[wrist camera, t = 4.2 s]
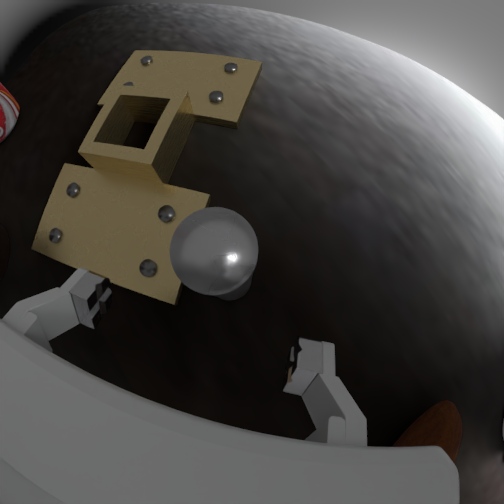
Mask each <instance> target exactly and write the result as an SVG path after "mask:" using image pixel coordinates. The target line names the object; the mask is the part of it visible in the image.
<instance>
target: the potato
mask: <svg viewBox="0 0 504 504" xmlns="http://www.w3.org/2000/svg"><path fill="white" fill-rule="evenodd" d="M462 434H463V426H462V420H461V416H460V414H459V412H458V410H457V408H456V406H455V404H454V403H452V402H451V401H448V400H443V401H441V402H439V403H438V404H436V405H434V406H432V407H430V408H429V409H428V410H427V411H426V412H425V413H423V414H422V415H421V416H420V417H419V418H418V419H416V420H415V421H414V422H413V423H412V424H411V425H410V426H409V427H408V428H407V429H406V430H405V431H404V433H403V434H402V435H401V436H400V437H399V439H398V440H397V441H396V442H395V443H394V445H393V446H392V447H414V446H439V447H441V448H442V449H443V450H444V451H445V452H446V454H447V455H448V456H449V457H450V459H451V460H452V461H453V463H454V464H455V460H456V457H457V453H458V450H459V447H460V444H461V439H462Z"/></svg>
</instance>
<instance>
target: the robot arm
mask: <svg viewBox="0 0 504 504" xmlns="http://www.w3.org/2000/svg"><path fill="white" fill-rule="evenodd" d="M110 285H111V283H110V279H109V278H107V277H105V276H103V275H100V274H98V273H95V272H93V271H91V270H88V269H86V268H83V267H80V268H78V269H77V270H76V271H75V272H74V273H73V274H72V275H71V277H70V278H69V279H68V280H67V281H66V282H65V283H64V284H63V285H62V286H61V287H60V288H58V287H56V288H54V289H51V290H48V291H46V292H43V293H40V294H38V295H35V296H32V297H30V298H27V299H24V300H22V301H19V302H17V303H16V304H15V305H14V306H13V307H12V308H11V309H10V311H9V312H8V313H7V314H6V315H5V316H4V317H3V319H0V504H459V475H458V470H457V467H456V466H455V464H454V463H453V461H452V460H451V459H450V457H449V456H448V455H447V454H446V452H445V451H444V450H443V449H442V448H441V447H439V446H414V447H373V446H367V420H366V418H365V416H364V415H363V413H362V412H361V410H360V409H359V407H358V406H357V404H356V403H355V401H354V400H353V398H352V397H351V395H350V394H349V392H348V390H347V389H346V387H345V386H344V384H343V383H342V381H341V380H340V378H339V377H336V376H335V345H334V344H333V343H329V342H324V341H320V340H315V339H311V338H306V337H302V336H298V337H297V338H296V340H295V344H294V347H292V348H291V350H290V352H289V354H288V357H287V361H286V367H285V369H286V371H287V373H286V375H285V377H284V382H283V390H282V391H284V392H288V393H292V394H297V395H301V396H302V399H303V401H304V403H305V405H306V407H307V410H308V412H309V414H310V416H311V418H312V421H313V423H314V425H315V427H316V429H317V430H315V431H314V432H313V433H312V434H311V435H310V436H308V437H307V438H306V439H305V440H298V439H291V438H285V437H280V436H274V435H269V434H264V433H259V432H254V431H250V430H246V429H241V428H237V427H233V426H229V425H225V424H222V423H218V422H214V421H211V420H207V419H204V418H201V417H197V416H194V415H191V414H188V413H185V412H182V411H179V410H176V409H173V408H170V407H167V406H165V405H162V404H159V403H157V402H154V401H151V400H149V399H146V398H144V397H141V396H139V395H136V394H134V393H131V392H129V391H127V390H124V389H122V388H120V387H118V386H115V385H113V384H111V383H109V382H107V381H105V380H102V379H100V378H98V377H96V376H94V375H92V374H90V373H88V372H86V371H84V370H82V369H81V368H79V367H77V366H75V365H73V364H71V363H69V362H67V361H66V360H64V359H62V358H60V357H59V356H57V355H55V354H53V353H52V348H51V346H50V344H49V342H48V341H49V340H51V339H53V338H55V337H56V336H58V335H60V334H62V333H64V332H65V331H67V330H69V329H71V328H72V327H74V326H76V325H78V324H79V323H81V324H83V325H86V326H88V327H90V328H93V329H95V328H96V326H97V325H98V323H99V322H100V321H101V319H102V317H101V314H103V313H105V312H107V311H108V309H109V308H110V306H111V303H112V292H111V290H110V289H109V286H110ZM503 439H504V420H503Z"/></svg>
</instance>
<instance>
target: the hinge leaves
mask: <svg viewBox="0 0 504 504" xmlns="http://www.w3.org/2000/svg"><path fill="white" fill-rule="evenodd" d="M261 70H262V62H260V61H254V60H249V59H242V58H236V57H229V56H222V55H213V54H204V53H192V52H178V51H135V52H134V53H133V54H132V55H131V57H130V58H129V59H128V61H127V62H126V63H125V64H124V66H123V67H122V69H121V70H120V71H119V73H118V74H117V75H116V77H115V78H114V80H113V81H112V83H111V84H110V86H109V87H108V88H107V90H106V91H105V93H104V95H103V96H102V98H101V99H100V101H99V102H98V106H99V107H100V109H101V111H100V112H99V114H98V116H97V117H96V119H95V121H94V123H93V124H92V126H91V128H90V130H89V131H88V133H87V135H86V137H85V139H84V141H83V143H82V145H81V146H80V148H79V150H78V152H79V153H80V154H81V155H82V157H83V158H84V159H85V160H86V161H87V162H88V163H89V164H90V165H91V166H92V167H93V168H94V169H93V168H88V167H83V166H77V165H72V164H67V163H65V164H64V166H63V168H62V170H61V172H60V174H59V177H58V179H57V181H56V183H55V186H54V188H53V190H52V193H51V195H50V198H49V200H48V203H47V205H46V208H45V210H44V213H43V216H42V218H41V221H40V224H39V227H38V230H37V233H36V236H35V239H34V242H33V245H32V248H31V249H33V250H35V251H37V252H39V253H41V254H44V255H46V256H48V257H50V258H53V259H55V260H57V261H60V262H62V263H64V264H67V265H69V266H71V267H74V268H76V269H78V268H80V267H83V268H86V269H88V270H91V271H93V272H95V273H98V274H100V275H103V276H105V277H107V278H109V279H110V282H112V283H114V284H117V285H119V286H122V287H125V288H128V289H130V290H133V291H136V292H139V293H141V294H144V295H147V296H150V297H153V298H156V299H159V300H161V301H164V302H167V303H170V304H173V305H178V302H179V299H180V296H181V292H182V289H183V285H184V284H183V283H182V282H181V281H180V279H179V278H178V277H177V275H176V274H175V272H174V270H173V267H172V265H171V261H170V243H171V239H172V236H173V234H174V232H175V230H176V228H177V227H178V225H179V224H180V223H181V222H182V221H183V220H184V219H185V218H186V217H187V216H189V215H190V214H192V213H193V212H195V211H198V210H200V209H203V208H209V205H210V202H211V197H210V194H206V193H202V192H198V191H193V190H189V189H185V188H181V187H177V186H172V185H168V183H169V180H170V178H171V175H172V173H173V171H174V168H175V166H176V163H177V161H178V159H179V156H180V154H181V152H182V150H183V147H184V145H185V143H186V141H187V138H188V136H189V134H190V132H191V130H192V128H193V125H194V123H195V121H198V122H204V123H209V124H214V125H220V126H225V127H229V128H234V129H237V128H238V126H239V123H240V121H241V118H242V116H243V113H244V111H245V108H246V106H247V103H248V101H249V98H250V96H251V93H252V91H253V89H254V86H255V84H256V81H257V79H258V77H259V74H260V72H261ZM135 122H141V123H149V124H156V127H155V129H154V131H153V133H152V135H151V137H150V139H149V141H148V143H147V145H146V147H145V149H139V148H133V147H127V146H123V144H124V142H125V140H126V138H127V136H128V134H129V132H130V130H131V129H132V127H133V125H134V123H135Z"/></svg>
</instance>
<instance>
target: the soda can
mask: <svg viewBox="0 0 504 504" xmlns="http://www.w3.org/2000/svg"><path fill="white" fill-rule="evenodd" d="M19 109H20V108H19V104H18V103H17V102H16V100H15V99H14V97H13V96H12V95H11V94H10V93H9V91H8V90H7V89H6V88H5V87H4V86H3V85H2V84H1V82H0V143H1V142H2V141H4V140H5V139H6V138H7V136H8V135H9V134H10V133H11V131H12V130H13V128H14V126H15V124H16V121H17V118H18V115H19Z"/></svg>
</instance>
